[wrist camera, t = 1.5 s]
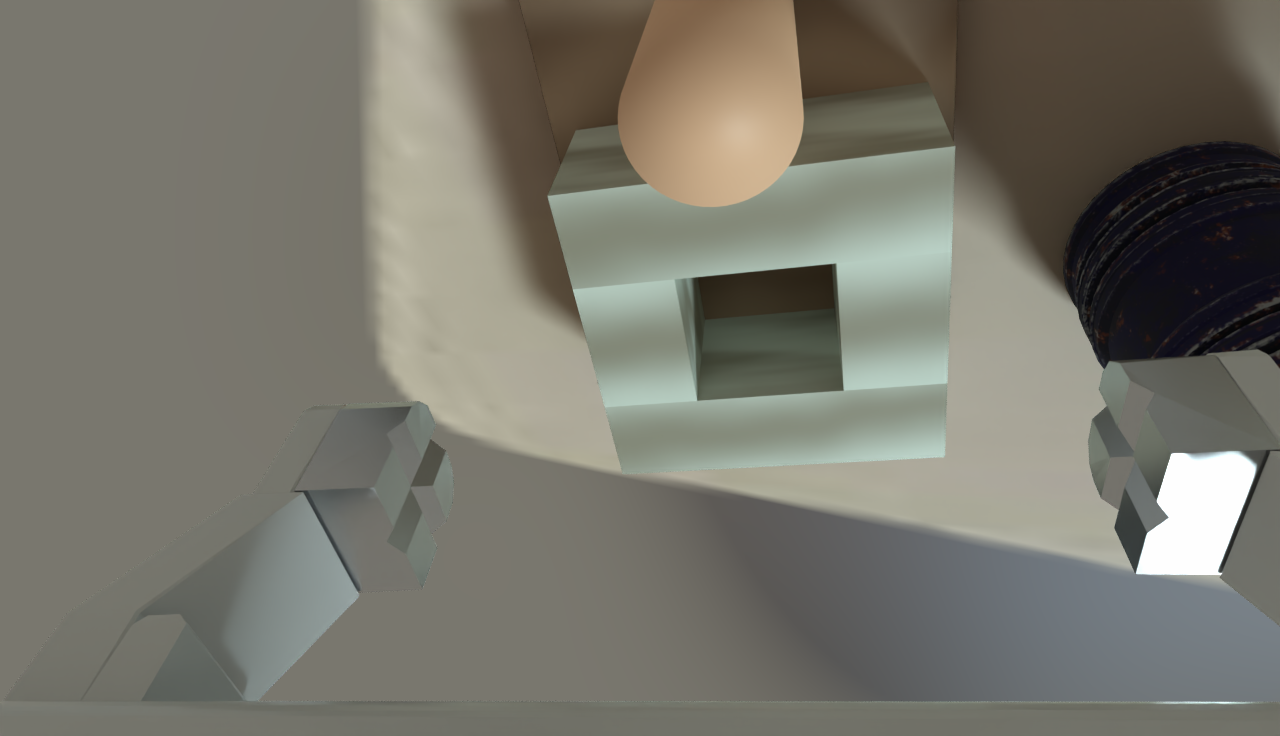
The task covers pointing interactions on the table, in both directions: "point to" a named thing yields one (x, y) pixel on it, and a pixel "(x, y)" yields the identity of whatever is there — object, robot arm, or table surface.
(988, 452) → the table surface
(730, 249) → the socket board
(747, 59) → the peg
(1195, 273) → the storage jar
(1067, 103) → the table surface
